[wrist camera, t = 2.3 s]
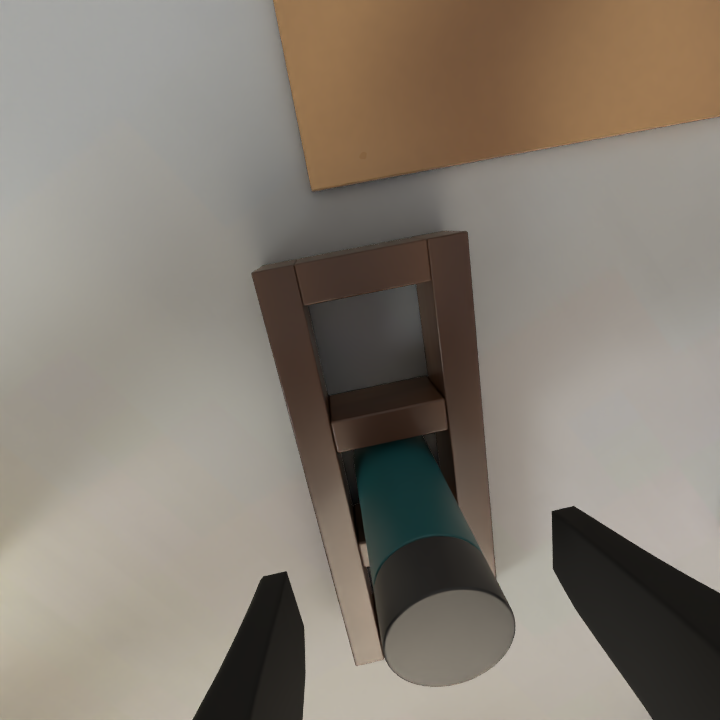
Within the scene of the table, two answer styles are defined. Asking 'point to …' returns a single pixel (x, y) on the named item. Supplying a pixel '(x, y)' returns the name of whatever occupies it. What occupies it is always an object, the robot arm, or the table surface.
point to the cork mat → (488, 77)
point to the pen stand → (380, 396)
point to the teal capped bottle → (427, 570)
